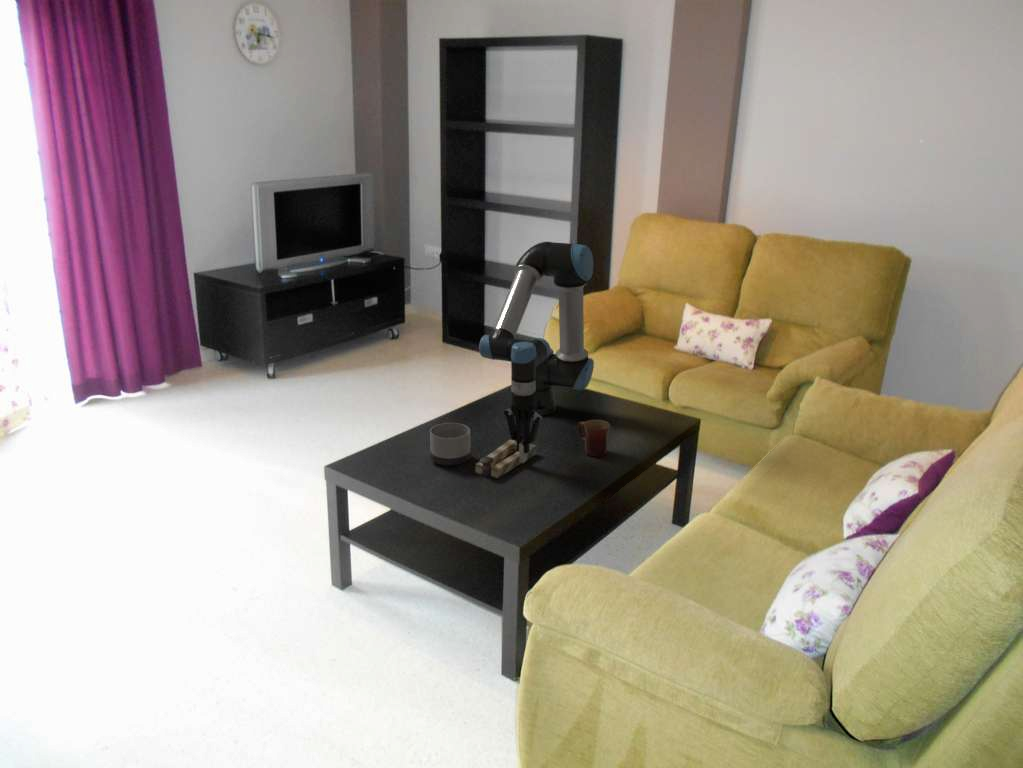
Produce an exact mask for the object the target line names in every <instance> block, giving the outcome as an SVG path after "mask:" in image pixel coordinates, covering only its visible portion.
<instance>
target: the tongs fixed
mask: <svg viewBox="0 0 1023 768" xmlns="http://www.w3.org/2000/svg"><path fill="white" fill-rule="evenodd" d="M516 452H518V451H517V442H516V441H515V440H512V439H509V440H507V441H506V442H505V443H503V444H501V445H500V446H499V447H498V448H496V449H494V450H493V451H492V452H491V453H489V454H488V455H486V456H483V457H481V458H480V460H479V461H478V462H476V463H475V464H474V465H475V473H476V474H478V475H482V477H483V478H490V477H492V476H491V467H493V466H495V465H496V464H498V463H500V462H501V461H503V460H505V459H506V458H507V457H509V455H512V454H515V453H516Z"/></svg>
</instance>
